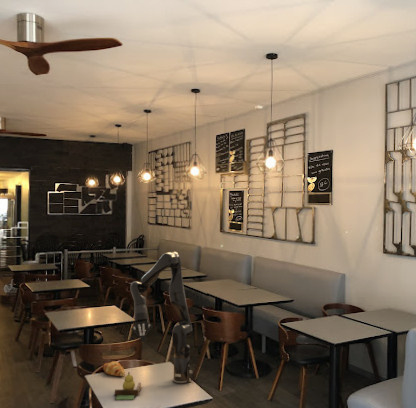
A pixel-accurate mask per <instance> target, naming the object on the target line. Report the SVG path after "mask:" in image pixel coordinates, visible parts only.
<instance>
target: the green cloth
mask: <svg viewBox="0 0 416 408" xmlns="http://www.w3.org/2000/svg"><path fill="white" fill-rule="evenodd" d="M135 397H136V396H135V395H117V396H115V401H134V399H135Z"/></svg>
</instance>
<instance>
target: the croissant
mask: <svg viewBox="0 0 416 408" xmlns="http://www.w3.org/2000/svg"><path fill="white" fill-rule="evenodd" d="M102 369H103V372H104V373H105V374H107V375H109V376H115V377H117V376H118V377H125V376H126V375H125V374H126V371H125V368H124V367H123V365H121V363H120V362H118V361H115V360H112V361H109V362H105V363H103V364H102Z"/></svg>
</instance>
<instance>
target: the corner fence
mask: <svg viewBox="0 0 416 408" xmlns="http://www.w3.org/2000/svg"><path fill="white" fill-rule="evenodd" d="M141 388H142V382H138V383H137V386H136V388H134V389H123V388H121V389H118V388H117V389H115V390H114V397H117V395H135V396H134V397H136V396H138V395H139V394H140V391H141Z"/></svg>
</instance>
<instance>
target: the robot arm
mask: <svg viewBox="0 0 416 408" xmlns="http://www.w3.org/2000/svg"><path fill="white" fill-rule="evenodd" d="M167 269H170V273H171V278H170V283H169V285H168V286H169V287H168V296H169V301H170V304H171V306H172V308H173V309H174V311H175V312H176V314H177V318H178V324H175V325H174V326H173V328H172V333H171V337H172V339H171V340H172V347H173V378H172V379H173V382H174V383H176V384H186V383H190V380H191V381H193V380H194V379H195V374H194V373H193V369H191V358H190V357H191V346H190V345H189V344H187V339H188V338H190V337H191V336H192V334H193V325H192V321H191V318H190V315H189V310H188V304H187V299H186V298H187V297H186V290H185V286H184V280H183V271H182V259H181V256H180V254H179V252H178V251H169V252H164V253H163V254H162V255H161V256H160V257H159V258H158V260H157V261H156V263H155V264H154V265H153V266H152V267H151V269H149V271H147V272H146V273H145V274H144V275H143V276H142V277H141V278H140V281H136V280H134V281H132V282H131V284H130V287H129V289H130V294H131V296H132V300H133V306H134V309H133V310H134V311H133V312H134V326H133V327H131V331H132V332H133V333H134V334H135V335H136V336H137V337H139V339H140V342H141V344H144V343H145V342H146V341H147V340H146V336H147V335H149V333H150V332H151V331H152V329H153V327H154V326H153V325H152V324H150V322H149V318H148V308H147V299H146V297H145V296H144V295H142V294H146V293H147V292H148V290H149V288H150V286H151V285H152V284H154V282H156V281H157V280H158V278H159V277H160V274H161V273H162V272H164V271H165V270H167ZM137 330H138V331H137Z"/></svg>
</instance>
